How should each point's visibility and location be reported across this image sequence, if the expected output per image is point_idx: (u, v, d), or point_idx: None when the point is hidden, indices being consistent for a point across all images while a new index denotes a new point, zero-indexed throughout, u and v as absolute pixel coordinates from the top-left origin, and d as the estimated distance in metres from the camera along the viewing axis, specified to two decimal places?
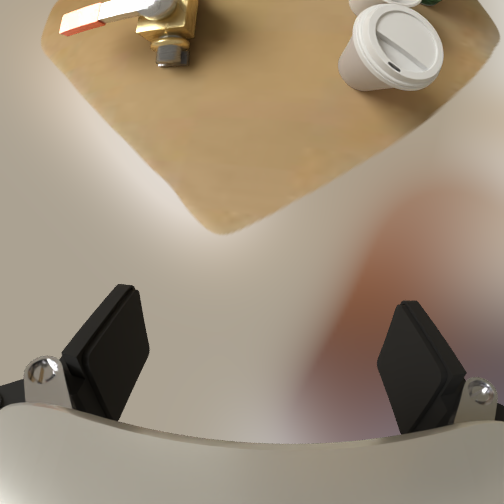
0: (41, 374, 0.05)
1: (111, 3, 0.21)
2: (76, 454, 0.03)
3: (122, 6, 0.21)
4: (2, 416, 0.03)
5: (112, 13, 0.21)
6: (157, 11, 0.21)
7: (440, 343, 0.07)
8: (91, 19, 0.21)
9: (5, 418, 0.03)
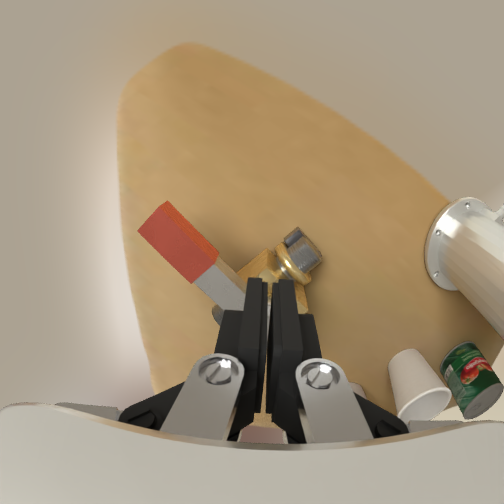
0: (215, 374, 0.06)
1: (223, 280, 0.23)
2: (76, 454, 0.03)
3: (230, 300, 0.24)
4: (2, 416, 0.03)
5: (213, 294, 0.24)
6: None
7: (290, 319, 0.08)
8: (186, 270, 0.23)
9: (5, 418, 0.03)
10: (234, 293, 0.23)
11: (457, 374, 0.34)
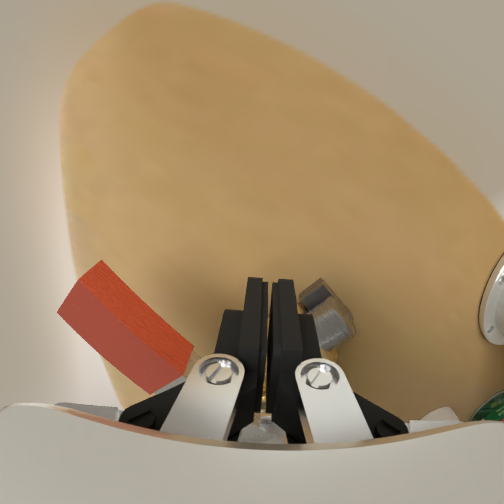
0: (215, 374, 0.06)
1: None
2: (76, 454, 0.03)
3: None
4: (2, 416, 0.03)
5: None
6: None
7: (289, 319, 0.08)
8: (139, 376, 0.12)
9: (5, 418, 0.03)
10: None
11: None
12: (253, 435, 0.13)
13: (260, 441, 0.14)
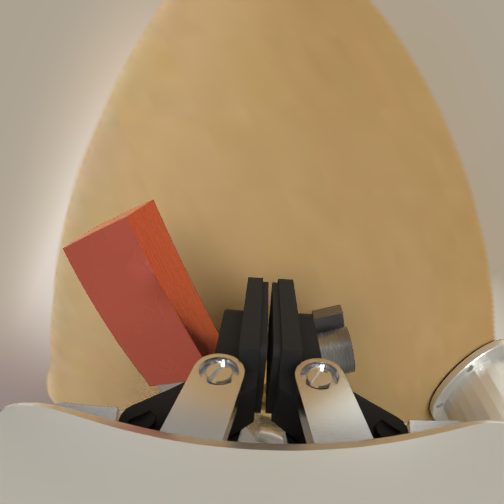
0: (216, 374, 0.06)
1: None
2: (76, 454, 0.03)
3: None
4: (2, 416, 0.03)
5: None
6: None
7: (289, 319, 0.08)
8: (146, 363, 0.10)
9: (5, 418, 0.03)
10: None
11: None
12: None
13: None
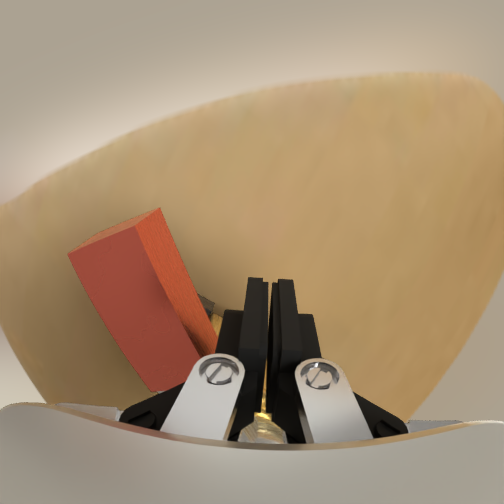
0: (216, 374, 0.06)
1: None
2: (76, 454, 0.03)
3: None
4: (2, 416, 0.03)
5: None
6: None
7: (289, 319, 0.08)
8: (148, 369, 0.10)
9: (5, 418, 0.03)
10: None
11: None
12: None
13: None
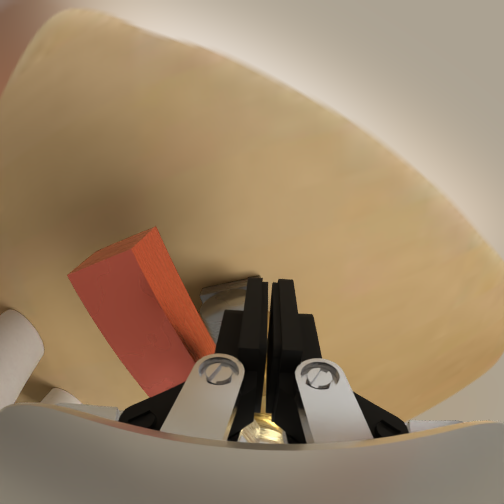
0: (215, 374, 0.06)
1: None
2: (76, 454, 0.03)
3: None
4: (2, 416, 0.03)
5: None
6: None
7: (289, 319, 0.08)
8: (151, 383, 0.10)
9: (5, 418, 0.03)
10: None
11: None
12: None
13: None
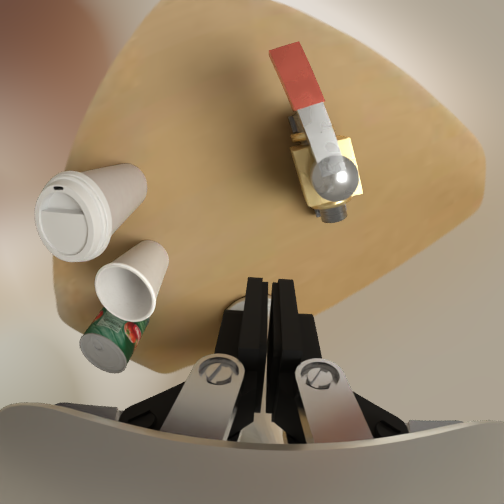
0: (215, 374, 0.06)
1: (324, 119, 0.23)
2: (76, 454, 0.03)
3: (321, 139, 0.24)
4: (2, 416, 0.03)
5: (309, 128, 0.24)
6: (319, 192, 0.26)
7: (289, 319, 0.08)
8: (296, 97, 0.22)
9: (5, 418, 0.03)
10: (328, 134, 0.24)
11: None
12: (335, 162, 0.25)
13: (336, 170, 0.25)
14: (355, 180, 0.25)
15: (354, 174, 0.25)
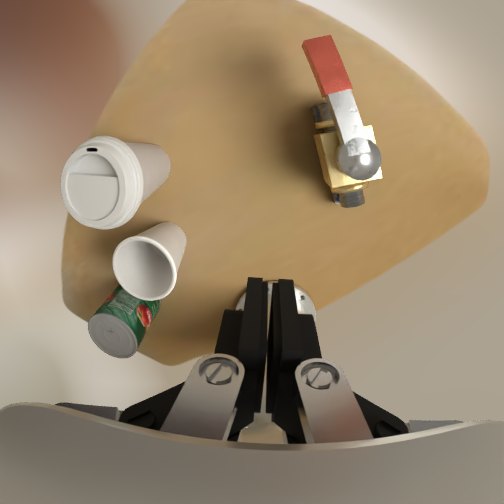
0: (215, 374, 0.06)
1: (351, 104, 0.24)
2: (76, 454, 0.03)
3: (348, 122, 0.25)
4: (2, 416, 0.03)
5: (338, 111, 0.25)
6: (346, 171, 0.27)
7: (289, 319, 0.08)
8: (327, 83, 0.24)
9: (5, 418, 0.03)
10: (354, 118, 0.25)
11: (141, 300, 0.40)
12: (360, 144, 0.26)
13: (361, 151, 0.26)
14: (378, 161, 0.26)
15: (377, 156, 0.26)
